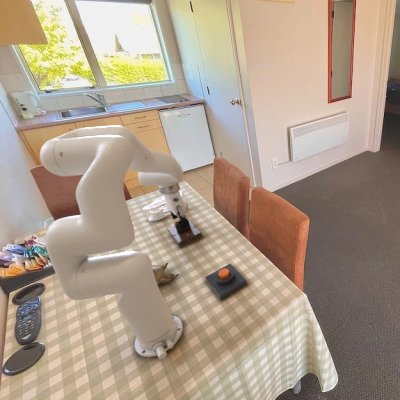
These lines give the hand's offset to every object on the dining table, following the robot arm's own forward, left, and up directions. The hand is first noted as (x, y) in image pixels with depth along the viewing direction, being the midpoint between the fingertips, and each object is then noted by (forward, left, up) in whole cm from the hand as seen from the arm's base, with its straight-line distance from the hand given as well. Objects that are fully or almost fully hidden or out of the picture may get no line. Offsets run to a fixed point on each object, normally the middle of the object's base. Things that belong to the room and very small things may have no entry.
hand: (180, 222), depth 116 cm
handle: (0, 0, -5) cm, 5 cm away
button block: (-39, 0, -8) cm, 39 cm away
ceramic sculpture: (-21, +19, -8) cm, 29 cm away
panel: (0, 0, -8) cm, 8 cm away
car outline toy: (+26, -1, -8) cm, 28 cm away
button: (-39, 0, -4) cm, 39 cm away
